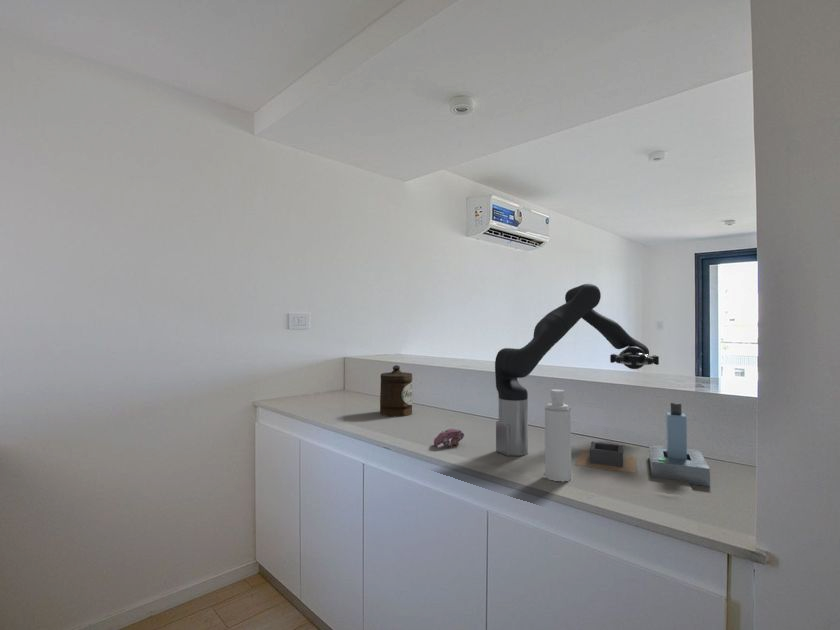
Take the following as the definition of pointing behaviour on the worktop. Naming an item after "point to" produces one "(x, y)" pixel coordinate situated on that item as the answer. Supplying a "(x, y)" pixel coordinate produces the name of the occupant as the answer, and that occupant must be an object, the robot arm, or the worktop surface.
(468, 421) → the worktop surface
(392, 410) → the wooden container
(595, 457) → the holster
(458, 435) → the raw steak
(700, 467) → the port block
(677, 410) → the plug
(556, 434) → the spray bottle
